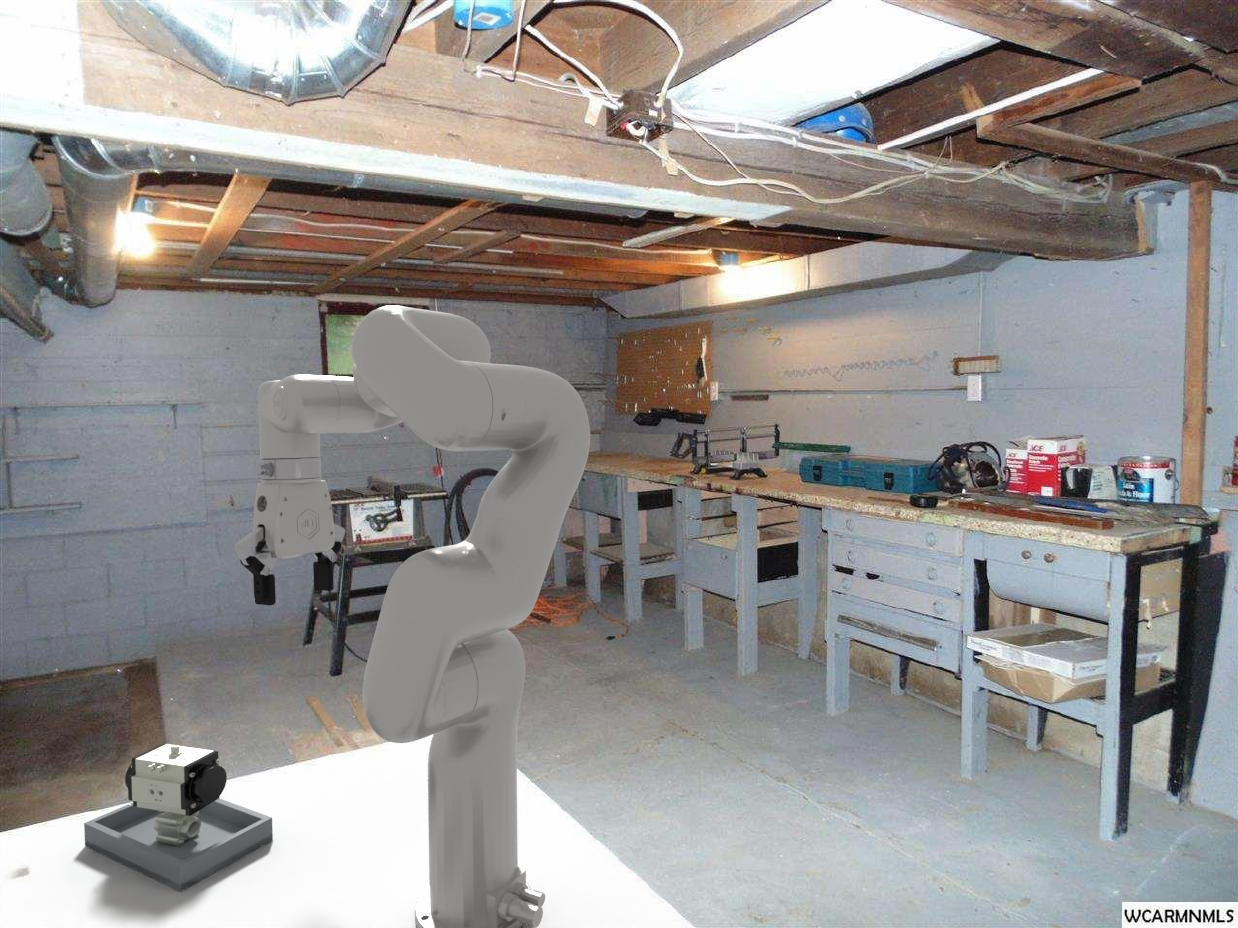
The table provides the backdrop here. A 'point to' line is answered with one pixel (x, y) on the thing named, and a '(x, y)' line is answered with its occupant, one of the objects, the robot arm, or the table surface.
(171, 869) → the parts tray
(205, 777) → the pneumatic valve
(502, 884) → the robot arm
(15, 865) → the table surface
